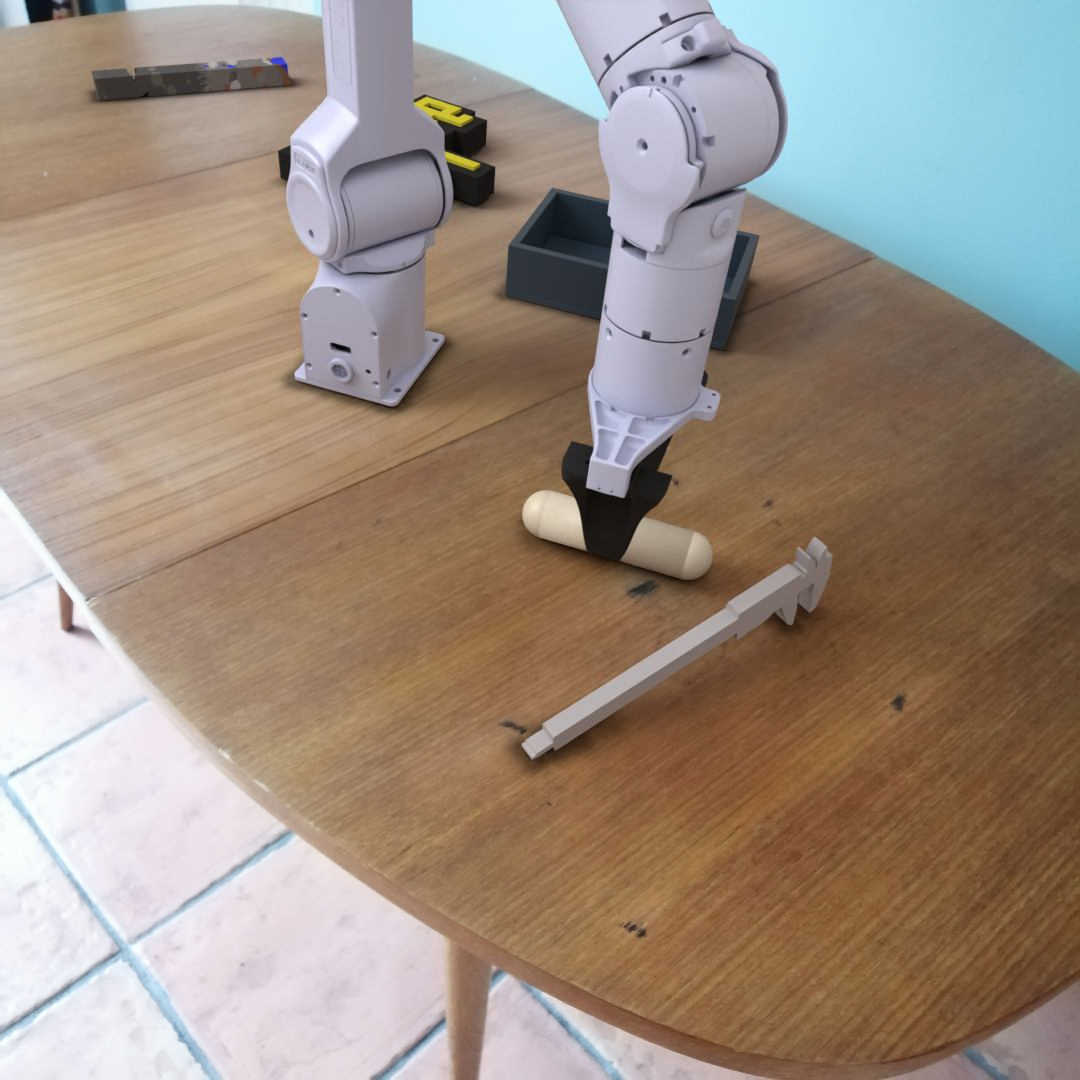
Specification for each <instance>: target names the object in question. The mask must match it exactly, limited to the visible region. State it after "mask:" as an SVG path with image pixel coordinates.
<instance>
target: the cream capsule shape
mask: <svg viewBox="0 0 1080 1080" xmlns="http://www.w3.org/2000/svg"><path fill="white" fill-rule="evenodd" d="M521 515H522V516H521V517H522V522H523V524H524V527H525V528H526V530H527V531H528V532H529V533H530V534H532V535H533V536H534V537H537V538H539V539H543V540H546V541H549V542H553V543H555V544H556V543H557V544H560V545H563V546H566V547H570V548H574V549H578V550H579V551H580V550H581V551H584V552H587V550H586V547H585V542H584V537H583V531H582V524H581V518H580V512H579V508H578V505H577V502H576V500H575V498H574V496H573V495H568V494H566V493H562V492H558V491H555V490H549V489H546V490H545V489H542V490H538V491H536V492H534V493H533V494H531V495H530V496H529V497H528V498H527V499H526V501H525V502H524V504H523V507H522V512H521ZM713 559H714V552H713V547H712V545H711V542H710V541H709V540H708V538H707V537H706V536H704V535H703V534H702V533H700V532H698V531H696V530H692V529H690V528H689V529H688V528H686V527H681V526H678V525H674V524H671V523H668V522H664V521H661V520H657V519H654V518H653V519H652V518H651V517H646V516H644V517H643V519H642V520H641V522H640V523H639V525H638V527H637V529H636V531H635V533H634V536H633V538H632V540H631V543H630V545H629V547H628V549H627V551H626V553H625V554H624V556H623V557H622V558H621V560H619V561H618V562H621V563H625V564H629V565H632V566H635V567H638V568H642V569H646V570H649V571H652V572H655V573H658V574H663V575H665V576H669V577H672V578H676V579H680V580H684V581H691V580H696V579H699V578H700V577H702V576H704V575H705V574H706V573H707V572H708V571H709V569H710V568H711V565H712V563H713Z"/></svg>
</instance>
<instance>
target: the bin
mask: <svg viewBox="0 0 1080 1080" xmlns="http://www.w3.org/2000/svg"><path fill="white" fill-rule="evenodd" d="M608 207H609V199H603V198H600V197H595V196H591V195H587V194H582V193H578V192H574V191H570V190H565V189H562V188H561V189H560V188H556V187H551V189H550V190H549V191H548V192H547V194H546V195H545V196H544V198H543V199H542V201H540V203H539V204H538V205H537V207H535V210H534V211H533V212H532V213H531V215H530V216H529V218H528V219H527V220H526V221H525V223H524V224H523V225H522V227H521V228H520V229H519V231H518V232H517V233H516V235H515V236H514V237H513V239H512V240H511V241H510V243H509V244H508V246H507V247H508V248H507V260H506V263H507V264H506V276H505V278H506V279H505V292H504V296H506V297H509V298H513V299H516V300H521V301H525V302H529V303H532V304H536V305H540V306H545V307H548V308H553V309H556V310H560V311H564V312H569V313H572V314H577V315H581V316H583V317H584V316H585V317H588V318H592V319H596V320H600V321H601V315H602V309H603V302H604V295H605V288H606V281H607V274H608V267H609V260H610V253H611V246H612V239H613V232H614V230H613V229H612V227H611V217H610V216H608V215H607V214H608ZM759 239H760V234H757V233H756V234H755V233H753V232H748V231H743V230H737V234H736V238H735V243H734V247H733V251H732V255H731V259H730V264H729V268H728V272H727V276H726V281H725V285H724V289H723V293H722V298H721V302H720V306H719V310H718V314H717V319H716V322H715V327H714V331H713V335H712V339H711V343H710V348H712V349H715V350H719V351H724V350H725V347H726V344H727V341H728V338H729V336H730V333H731V330H732V327H733V324H734V321H735V318H736V316H737V313H738V310H739V308H740V304H741V302H742V299H743V297H744V294H745V291H746V289H747V286H748V284H749V283H748V282H749V279H750V275H751V272H752V266H753V263H754V259H755V254H756V251H757V248H758V244H759Z"/></svg>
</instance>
